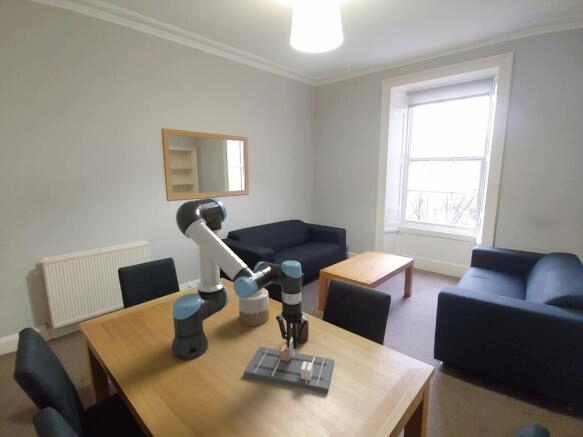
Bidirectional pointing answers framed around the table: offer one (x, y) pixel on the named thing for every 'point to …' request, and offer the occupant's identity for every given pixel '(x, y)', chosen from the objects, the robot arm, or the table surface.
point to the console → (290, 369)
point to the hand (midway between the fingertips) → (292, 354)
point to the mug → (305, 332)
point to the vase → (254, 309)
